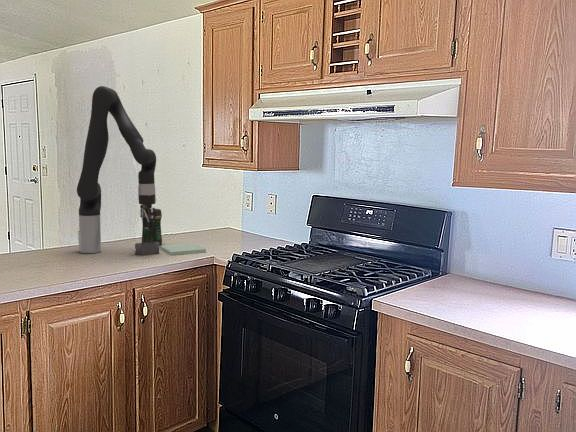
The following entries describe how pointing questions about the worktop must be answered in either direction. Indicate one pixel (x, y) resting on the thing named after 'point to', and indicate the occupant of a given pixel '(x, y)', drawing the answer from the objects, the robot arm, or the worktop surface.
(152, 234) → the coffee jar
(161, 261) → the worktop surface
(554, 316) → the worktop surface
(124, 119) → the robot arm
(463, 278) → the worktop surface
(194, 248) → the cutting board
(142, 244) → the connector
